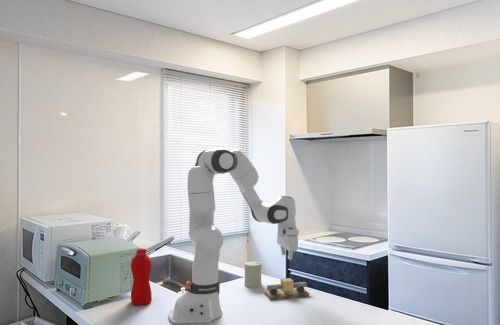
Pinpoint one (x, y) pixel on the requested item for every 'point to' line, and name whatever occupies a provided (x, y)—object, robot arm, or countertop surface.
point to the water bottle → (141, 278)
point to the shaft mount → (297, 292)
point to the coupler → (286, 285)
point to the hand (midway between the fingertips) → (286, 256)
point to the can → (252, 274)
